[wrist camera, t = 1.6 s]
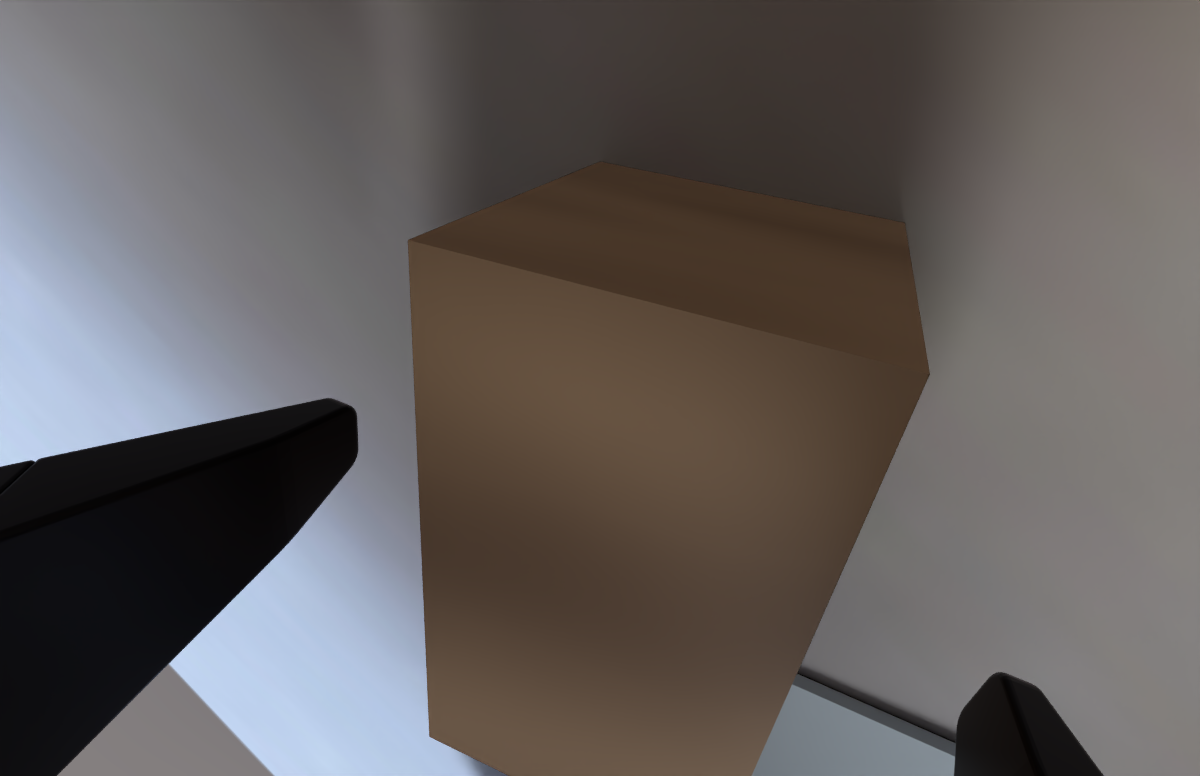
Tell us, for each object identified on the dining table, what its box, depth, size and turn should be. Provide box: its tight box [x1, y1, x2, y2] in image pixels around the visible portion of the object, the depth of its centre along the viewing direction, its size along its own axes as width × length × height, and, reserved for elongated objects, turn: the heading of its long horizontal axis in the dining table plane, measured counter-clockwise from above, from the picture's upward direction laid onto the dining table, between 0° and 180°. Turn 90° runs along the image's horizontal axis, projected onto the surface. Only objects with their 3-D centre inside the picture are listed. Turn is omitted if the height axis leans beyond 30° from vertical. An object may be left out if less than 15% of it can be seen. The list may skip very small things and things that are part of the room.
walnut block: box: [408, 162, 930, 776], centre depth 9 cm, size 8×4×5 cm, turn 174°
